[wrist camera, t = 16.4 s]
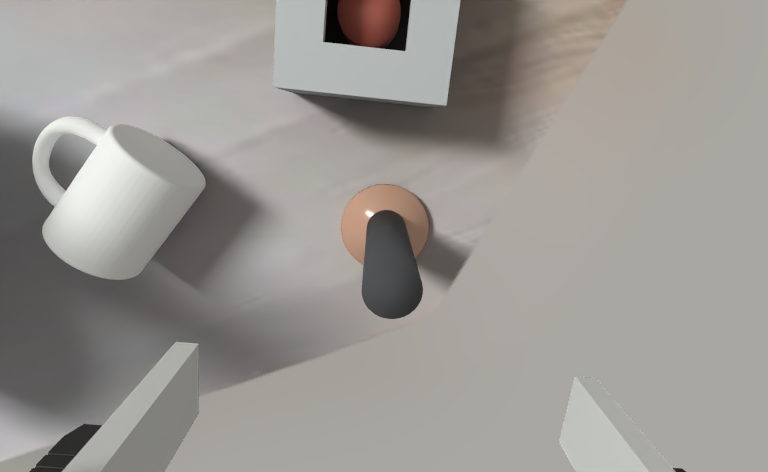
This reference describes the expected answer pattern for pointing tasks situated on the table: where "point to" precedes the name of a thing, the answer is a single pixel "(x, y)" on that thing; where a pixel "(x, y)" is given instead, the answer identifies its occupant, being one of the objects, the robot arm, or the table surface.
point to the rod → (390, 267)
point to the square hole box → (366, 56)
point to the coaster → (377, 201)
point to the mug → (114, 197)
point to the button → (369, 21)
